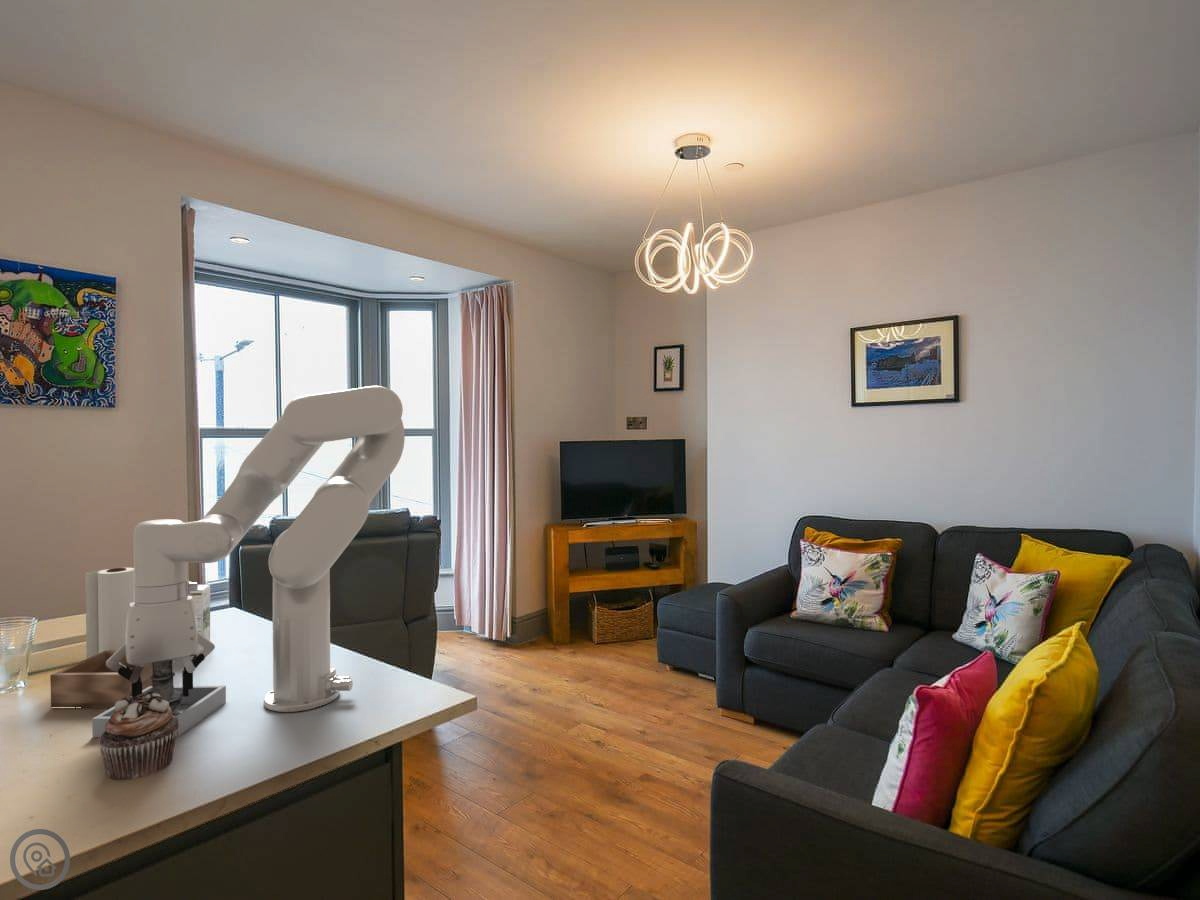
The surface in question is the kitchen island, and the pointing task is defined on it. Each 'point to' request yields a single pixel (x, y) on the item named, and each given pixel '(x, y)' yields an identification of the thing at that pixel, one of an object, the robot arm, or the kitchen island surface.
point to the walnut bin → (93, 683)
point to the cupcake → (139, 737)
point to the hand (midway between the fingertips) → (162, 697)
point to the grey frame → (199, 696)
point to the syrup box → (202, 611)
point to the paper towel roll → (107, 608)
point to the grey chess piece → (166, 684)
